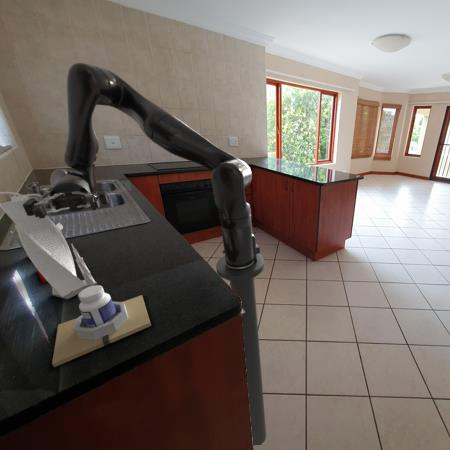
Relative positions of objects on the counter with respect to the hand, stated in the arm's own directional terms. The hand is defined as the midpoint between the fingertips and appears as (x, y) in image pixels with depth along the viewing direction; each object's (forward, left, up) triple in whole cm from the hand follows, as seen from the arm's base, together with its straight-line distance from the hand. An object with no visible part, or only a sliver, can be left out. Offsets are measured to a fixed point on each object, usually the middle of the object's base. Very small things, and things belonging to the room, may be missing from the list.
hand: (67, 209), depth 51 cm
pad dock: (0, +11, -25) cm, 27 cm away
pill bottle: (0, +11, -24) cm, 26 cm away
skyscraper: (+6, -9, -25) cm, 27 cm away
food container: (+14, -40, -25) cm, 49 cm away
